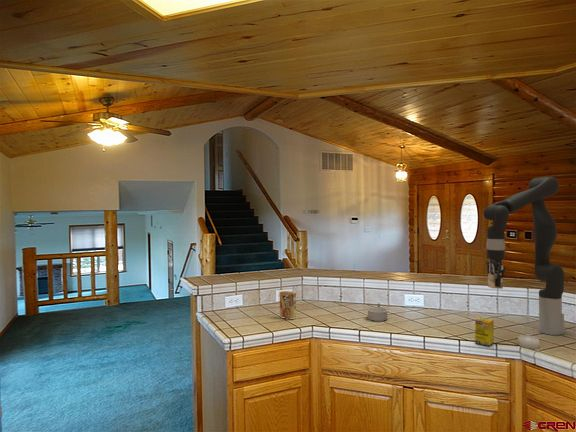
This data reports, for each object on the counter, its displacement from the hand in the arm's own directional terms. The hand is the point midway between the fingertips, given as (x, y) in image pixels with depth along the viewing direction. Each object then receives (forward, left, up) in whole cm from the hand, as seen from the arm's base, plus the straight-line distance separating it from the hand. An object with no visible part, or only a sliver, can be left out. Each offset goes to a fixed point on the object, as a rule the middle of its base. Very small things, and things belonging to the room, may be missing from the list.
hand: (495, 285), depth 178 cm
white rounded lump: (-11, +7, -25) cm, 28 cm away
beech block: (0, 0, -1) cm, 1 cm away
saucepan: (+47, -38, -26) cm, 66 cm away
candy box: (+98, -36, -25) cm, 108 cm away
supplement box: (+7, +5, -25) cm, 27 cm away
